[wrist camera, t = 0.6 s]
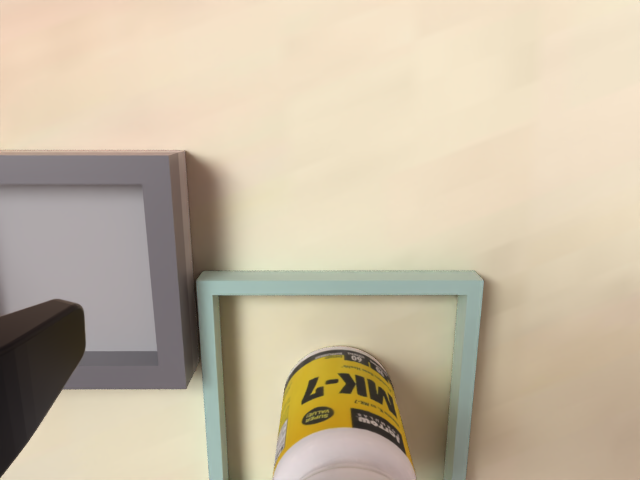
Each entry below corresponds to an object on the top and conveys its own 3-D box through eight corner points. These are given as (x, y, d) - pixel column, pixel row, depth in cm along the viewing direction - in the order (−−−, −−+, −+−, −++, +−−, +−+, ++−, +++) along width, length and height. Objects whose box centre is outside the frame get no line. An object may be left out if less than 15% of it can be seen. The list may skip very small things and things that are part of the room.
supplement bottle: (400, 349, 21) (452, 496, 13) (382, 442, 23) (419, 630, 14) (289, 336, 21) (273, 477, 13) (277, 430, 22) (255, 615, 14)
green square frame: (454, 496, 23) (462, 516, 22) (216, 497, 23) (211, 518, 22) (474, 270, 20) (483, 280, 19) (202, 271, 20) (196, 280, 19)
